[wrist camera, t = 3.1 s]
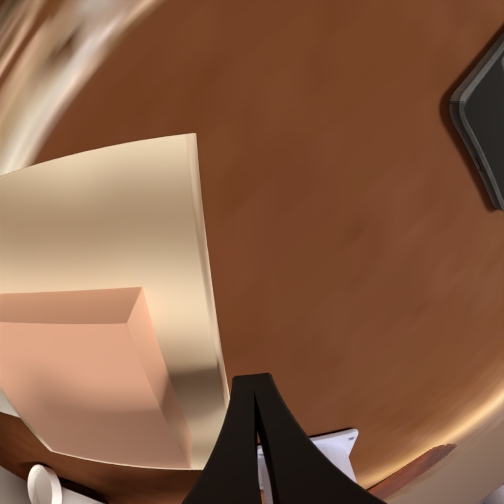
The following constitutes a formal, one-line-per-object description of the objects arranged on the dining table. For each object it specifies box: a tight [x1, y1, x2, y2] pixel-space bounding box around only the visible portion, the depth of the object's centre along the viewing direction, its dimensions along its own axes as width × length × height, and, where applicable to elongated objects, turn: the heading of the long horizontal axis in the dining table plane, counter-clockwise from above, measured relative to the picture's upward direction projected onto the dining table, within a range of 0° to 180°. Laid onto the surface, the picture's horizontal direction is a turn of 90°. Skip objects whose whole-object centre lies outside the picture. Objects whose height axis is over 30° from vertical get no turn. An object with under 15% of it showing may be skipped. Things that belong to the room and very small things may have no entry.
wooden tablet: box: [366, 444, 457, 500], centre depth 29 cm, size 27×10×2 cm, turn 146°
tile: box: [0, 287, 192, 469], centre depth 10 cm, size 9×8×2 cm
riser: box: [0, 133, 230, 470], centre depth 12 cm, size 18×14×3 cm
